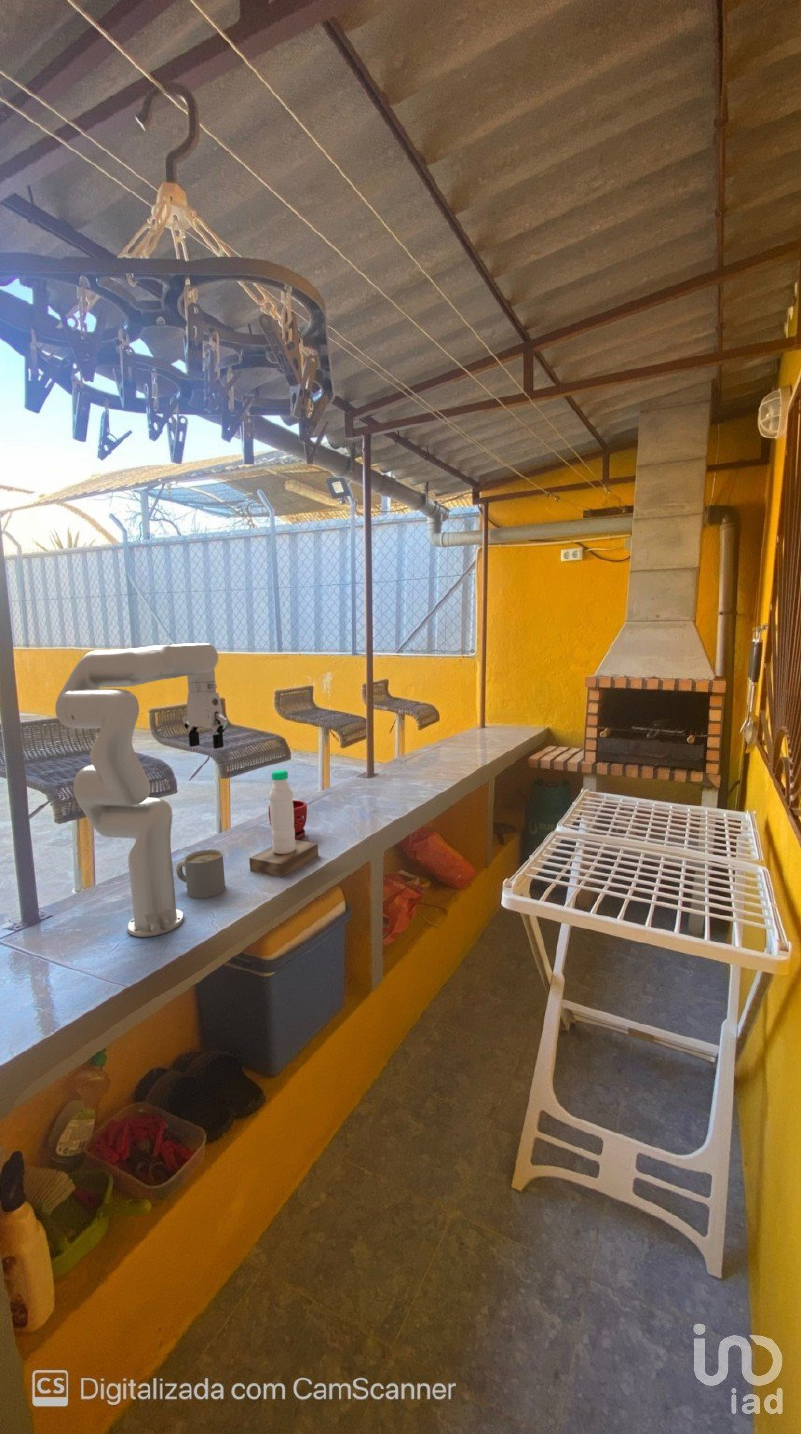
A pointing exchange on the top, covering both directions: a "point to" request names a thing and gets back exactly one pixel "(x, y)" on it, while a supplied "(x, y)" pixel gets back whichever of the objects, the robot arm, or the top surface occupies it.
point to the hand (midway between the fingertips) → (206, 746)
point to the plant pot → (298, 818)
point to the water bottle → (282, 814)
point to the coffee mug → (203, 873)
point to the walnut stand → (283, 859)
